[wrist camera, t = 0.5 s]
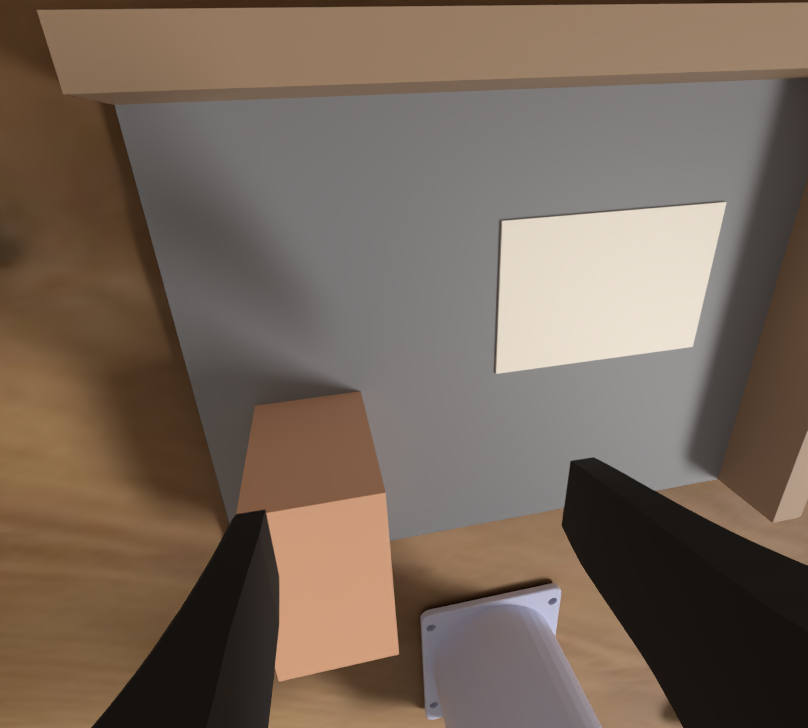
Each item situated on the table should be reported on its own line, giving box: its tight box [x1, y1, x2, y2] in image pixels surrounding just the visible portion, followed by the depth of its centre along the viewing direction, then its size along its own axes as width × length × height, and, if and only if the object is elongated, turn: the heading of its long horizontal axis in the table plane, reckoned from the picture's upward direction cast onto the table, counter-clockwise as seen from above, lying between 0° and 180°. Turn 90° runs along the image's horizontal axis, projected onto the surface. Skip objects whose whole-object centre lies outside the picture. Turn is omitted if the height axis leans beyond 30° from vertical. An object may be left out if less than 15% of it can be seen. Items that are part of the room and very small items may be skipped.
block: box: [236, 391, 399, 682], centre depth 17 cm, size 7×4×6 cm, turn 3°
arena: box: [37, 3, 808, 541], centre depth 18 cm, size 20×26×4 cm
